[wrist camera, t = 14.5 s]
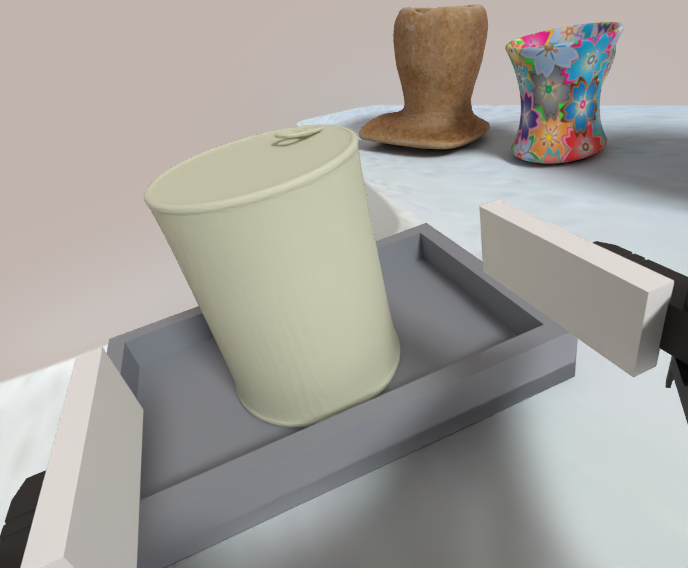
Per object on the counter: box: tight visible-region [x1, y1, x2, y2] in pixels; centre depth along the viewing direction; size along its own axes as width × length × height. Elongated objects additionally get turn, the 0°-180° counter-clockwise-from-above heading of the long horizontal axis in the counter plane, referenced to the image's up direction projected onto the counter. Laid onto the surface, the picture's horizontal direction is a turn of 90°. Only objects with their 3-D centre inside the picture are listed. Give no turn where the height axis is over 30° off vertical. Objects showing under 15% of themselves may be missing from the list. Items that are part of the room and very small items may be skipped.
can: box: [144, 125, 401, 428], centre depth 22 cm, size 9×9×12 cm
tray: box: [107, 223, 578, 568], centre depth 25 cm, size 22×14×3 cm, turn 110°
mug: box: [506, 22, 624, 163], centre depth 43 cm, size 12×9×11 cm
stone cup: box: [359, 5, 490, 149], centre depth 53 cm, size 15×12×15 cm
